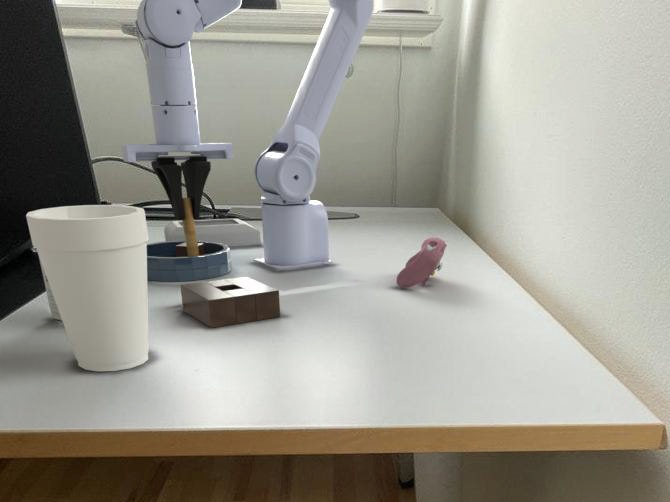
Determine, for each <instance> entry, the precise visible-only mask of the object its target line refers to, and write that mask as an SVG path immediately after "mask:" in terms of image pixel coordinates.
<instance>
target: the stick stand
mask: <svg viewBox="0 0 670 502" xmlns="http://www.w3.org/2000/svg"><path fill="white" fill-rule="evenodd" d="M179 287H180V295H181V304H182V311H183V312H184V313H187V314H188V315H190V316H192V317H193V318H194V319H196V320H198V321H200V322H201V323H203V324H205V325H207V326H208V327H210V328H211V329H214V328H220V327H225V326H226V327H227V326H232V325H238V324H244V323H245V324H246V323H250V322H257V321H262V320H268V319H274V318H280V317H281V304H280V290H279V289H277V288H274V287H271V286H269V285H267V284H265V283H263V282H260V281H258V280H255V279H253V278H251V277H249V276H239V277H232V278H231V277H230V278H224V279H216V280H209V281H208V280H207V281H200V282H193V283H186V284H185V283H184V284H180V285H179Z"/></svg>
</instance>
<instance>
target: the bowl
mask: <svg viewBox="0 0 670 502" xmlns="http://www.w3.org/2000/svg"><path fill="white" fill-rule="evenodd" d="M185 242H186V241H167V242H166V241H158V242H150V243H147V281H155V282H193V281H202V280H209V279H214V278H217V277H222V276H224V275H227V274H229V273H230V272H231V271H232V270H233V269H232V260H231V248H230V246H228V245H225V244H222V243H217V242H209V241H197V242H198V243H203V244H204V254H205V255H201V256H192V257H177V255H176V247H175V246H177V245H179V244H182V243H185Z"/></svg>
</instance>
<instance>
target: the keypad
mask: <svg viewBox="0 0 670 502" xmlns="http://www.w3.org/2000/svg"><path fill="white" fill-rule="evenodd" d="M194 222H195V229H196V236H197V241H209V242H217V243H222V244H225V245H228V246H229V247H236V246H237V247H238V246H239V247H240V246H256V245H262V240H261V231H260V230H259V229H258V228H255V227H254V226H252V225H251V224H249V223H248V222H246V221H244V220H242V219H239V218H214V219H194ZM163 232H164V239H165V241H164V242H167V241H185V234H184V228H183V221H182V220H172V221H169V223H167V224H166V225H165V226H164V229H163Z"/></svg>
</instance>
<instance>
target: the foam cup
mask: <svg viewBox="0 0 670 502" xmlns="http://www.w3.org/2000/svg"><path fill="white" fill-rule="evenodd" d="M146 217H147V216H146V211H145V209H144V208H143V207H138V206H133V205H120V204H119V205H118V204H83V205H65V206H55V207H48V208H47V207H46V208H40V209H35V210H32V211H27V213H26V215H25V218H26V222H27V226H28V231H29V236H30V239H31V244H32V247H35V248H36V251H37V255H38V254H39V255H38V258H39V257H40V260H41V263H42V266H43V268H44V271H45V274H46V277H47V279H48V282H49V285H50V288H51V291H52V293H53V296H54V299H55V302H56V305H57V307H58V310H59V313H60V316H61V319H62V321H61V322H62V324H63V327H64V329H65V333H66V336H67V338H68V341H69V343H70V346H71V349H72V352H73V355H74V358H75V360H76V361H77V365H78V367H80V368H82V369H83V370H86V371H91V372H92V371H93V372H117V371H123V370H128V369H132V368H133V369H134V368H135V367H138V366H140V365H141V366H142V365H144V363H146V362H147V361H148V360H149V352H150V351H149V350H150V349H149V347H150V346H149V301H148V297H149V296H148V295H149V294H148V280H147V244H148V243H147V242H148V241H149V240H150V239H149V231H148V223H147V218H146ZM40 260H39V261H40Z"/></svg>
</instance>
